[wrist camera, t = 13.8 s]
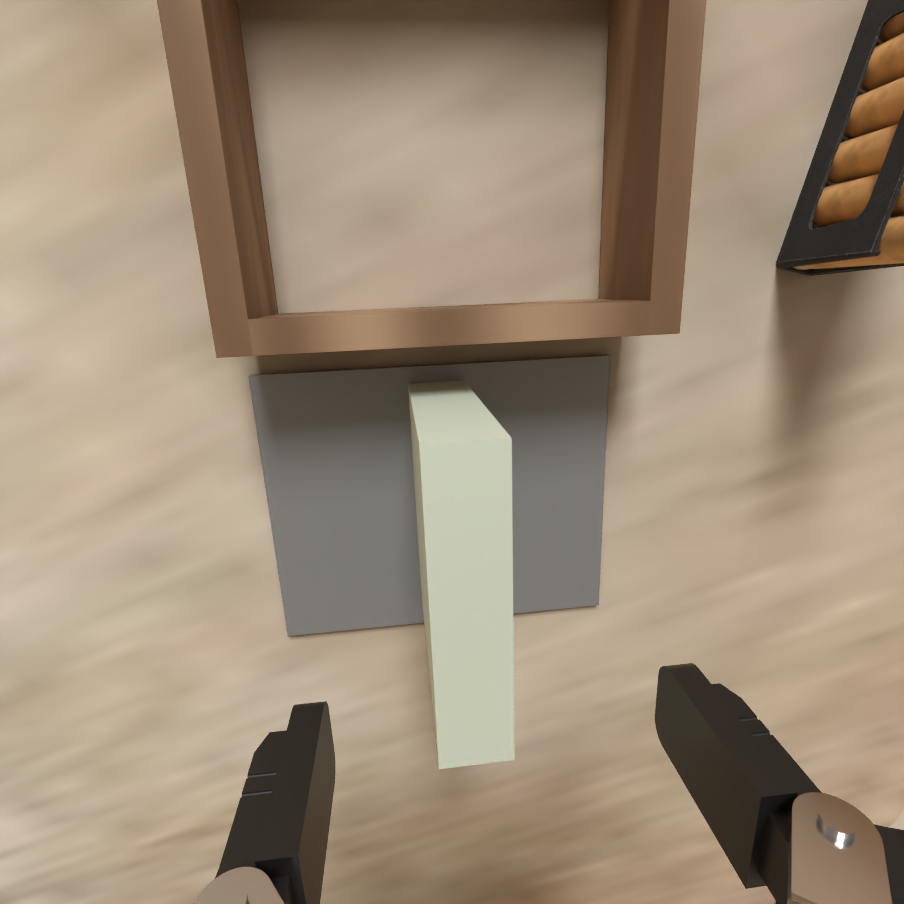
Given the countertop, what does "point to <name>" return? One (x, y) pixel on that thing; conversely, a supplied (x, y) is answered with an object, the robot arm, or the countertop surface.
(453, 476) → the pale green rectangular block
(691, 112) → the walnut box
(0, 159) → the countertop surface
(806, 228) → the ammunition clip
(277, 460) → the rubber mat
